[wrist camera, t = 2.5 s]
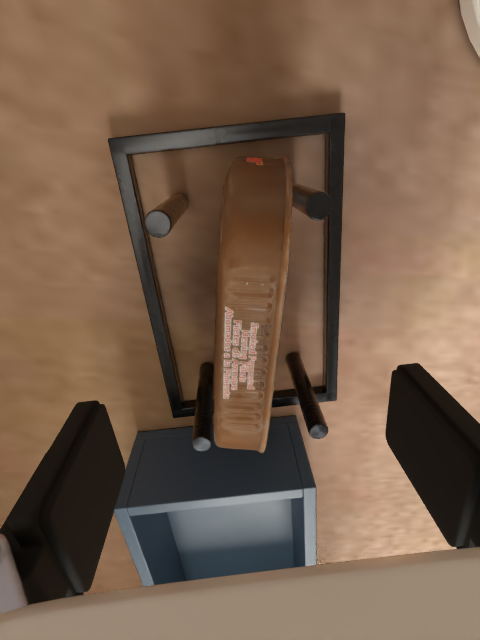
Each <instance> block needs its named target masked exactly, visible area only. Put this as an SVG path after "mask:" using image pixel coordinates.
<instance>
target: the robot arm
mask: <svg viewBox="0 0 480 640" xmlns="http://www.w3.org/2000/svg"><path fill="white" fill-rule="evenodd" d="M459 2H460V10H461V15H462V18H463V21H464V24H465V27H466V30H467V34H468V37H469V40H470V42H471V43H472V45H473V47H474V49H475V50H476V52H477V54H478V55H479V57H480V0H459ZM386 440H387V443H388V445H389V447H390V448H391V450H392V452H393V453H394V455H395V457H396V458H397V460H398V462H399V463H400V465H401V467H402V468H403V470H404V471H405V473H406V475H407V476H408V478H409V480H410V481H411V483H412V485H413V486H414V488H415V490H416V491H417V493H418V495H419V496H420V498H421V500H422V501H423V503H424V504H425V506H426V508H427V509H428V511H429V513H430V514H431V516H432V518H433V519H434V521H435V523H436V524H437V526H438V528H439V529H440V531H441V533H442V534H443V536H444V537H445V539H446V541H447V542H448V544H449V545H450V546H452V547H456V548H457V549H453V550H443V551H433V552H423V553H414V554H406V555H397V556H388V557H380V558H371V559H363V560H354V561H345V562H337V563H328V564H320V565H312V566H304V567H295V568H287V569H279V570H271V571H263V572H254V573H246V574H238V575H230V576H222V577H214V578H206V579H198V580H191V581H183V582H175V583H167V584H159V585H152V586H144V587H136V588H128V589H121V590H114V591H107V592H101V593H94V594H87V595H83V593H84V592H87V591H88V590H89V589H90V587H91V585H92V582H93V579H94V575H95V572H96V569H97V565H98V562H99V559H100V555H101V552H102V549H103V546H104V542H105V539H106V536H107V532H108V529H109V526H110V522H111V519H112V516H113V513H114V509H115V506H116V503H117V499H118V496H119V493H120V489H121V486H122V483H123V479H124V476H125V464H124V461H123V458H122V455H121V452H120V449H119V446H118V443H117V440H116V437H115V434H114V431H113V428H112V425H111V422H110V419H109V416H108V413H107V410H106V407H105V405H104V404H100V403H99V402H98V401H96V400H95V401H86V402H79V403H77V404H76V405H75V407H74V409H73V410H72V412H71V414H70V415H69V417H68V419H67V420H66V422H65V424H64V425H63V427H62V429H61V431H60V432H59V434H58V436H57V437H56V439H55V441H54V442H53V444H52V446H51V447H50V449H49V450H48V451H47V453H46V454H45V456H44V457H43V459H42V461H41V462H40V464H39V466H38V467H37V469H36V471H35V472H34V474H33V476H32V477H31V479H30V481H29V482H28V484H27V486H26V487H25V489H24V491H23V492H22V494H21V496H20V497H19V499H18V501H17V502H16V504H15V506H14V507H13V509H12V511H11V512H10V514H9V516H8V517H7V519H6V521H5V522H4V524H3V526H2V527H1V529H0V640H480V424H479V423H478V422H477V421H476V420H475V419H474V418H473V417H472V416H471V415H470V414H469V413H468V412H467V411H466V410H465V409H464V408H463V407H462V406H461V405H460V404H459V403H458V402H457V401H456V400H455V399H454V398H453V397H452V396H451V395H450V394H449V393H448V392H447V391H446V390H445V389H444V388H443V387H442V386H441V385H440V384H439V383H438V382H437V381H436V380H435V379H434V378H433V377H432V376H431V375H430V374H429V373H428V372H427V371H426V370H425V369H424V368H423V367H422V366H421V365H420V364H418V363H413V364H404V365H399V366H398V367H397V370H394V371H393V372H392V377H391V386H390V396H389V405H388V415H387V424H386Z"/></svg>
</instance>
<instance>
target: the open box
mask: <svg viewBox="0 0 480 640" xmlns="http://www.w3.org/2000/svg"><path fill="white" fill-rule="evenodd" d="M193 427H194V426H193ZM193 427H184V428H175V429H165V430H156V431H147V432H138V433H137V436H136V439H135V441H134V445H133V448H132V451H131V454H130V457H129V461H128V464H127V467H126V470H125V476H124V479H123V483H122V486H121V489H120V493H119V496H118V499H117V503H116V506H115V509H114V513H115V515H116V518H117V520H118V523H119V525H120V528H121V531H122V533H123V536H124V538H125V541H126V543H127V546H128V548H129V551H130V553H131V556H132V559H133V561H134V564H135V566H136V569H137V571H138V574H139V576H140V579H141V582H142V584H143V587H144V586H152V585H159V584H167V583H175V582H183V581H191V580H198V579H206V578H214V577H222V576H230V575H238V574H246V573H254V572H263V571H271V570H279V569H287V568H295V567H304V566H312V565H316V485H315V481H314V478H313V474H312V471H311V467H310V464H309V460H308V457H307V453H306V450H305V446H304V442H303V439H302V435H301V432H300V428H299V425H298V422H297V418H296V416H295V415H294V416H285V417H276V418H270V424H269V430H268V437H267V442H266V447H265V450H264V452H263V453H261V452H258V451H257V450H245V449H230V448H222V447H219V446H217V445H216V444H215V441H214V430H213V424H212V441H211V447H210V448H209V449H208V450H206V451H197V450H195V449H194V448H193V447H192V436H193Z"/></svg>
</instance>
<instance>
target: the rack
mask: <svg viewBox="0 0 480 640" xmlns="http://www.w3.org/2000/svg"><path fill="white" fill-rule="evenodd" d="M317 134H326V135H325V193H324V192H321V191H317V190H314V189H311V188H308V187H305V186H302V185H299V184H296V183H293V182H292V206H293V207H295V208H296V209H298V210H299V211H301V212H302V213H304V214H305V215H307V216H308V217H310V218H311V219H313V220H322V219H324V218H325V248H324V362H323V387H315V388H312V386H311V383H310V381H309V378H308V376H307V373H306V371H305V368H304V366H303V363H302V360H301V358H300V356H299V355H298V354H296V353H291V354H289V355H288V356H287V358H286V362H287V365H288V368H289V372H290V375H291V378H292V381H293V384H294V387H295V390H287V391H278V392H273V397H272V407H280V406H289V405H298V404H300V407H301V410H302V413H303V416H304V419H305V422H306V426H307V429H308V432H309V435H310V436H311V437H312V438H315V439H320V438H323V437H325V436H326V435H327V433H328V427H327V424H326V422H325V419H324V417H323V414H322V412H321V409H320V406H319V404H318V402H326V401H335V400H337V367H338V334H339V301H340V267H341V234H342V201H343V167H344V134H345V113H337V114H328V115H318V116H309V117H300V118H291V119H282V120H273V121H264V122H254V123H245V124H236V125H227V126H218V127H209V128H200V129H190V130H181V131H172V132H163V133H154V134H145V135H136V136H126V137H117V138H109V139H108V143H109V147H110V151H111V155H112V160H113V164H114V168H115V172H116V177H117V181H118V185H119V189H120V194H121V198H122V202H123V206H124V211H125V215H126V219H127V223H128V228H129V232H130V236H131V240H132V245H133V249H134V253H135V257H136V261H137V266H138V270H139V274H140V278H141V283H142V287H143V291H144V295H145V300H146V304H147V308H148V312H149V317H150V321H151V325H152V329H153V334H154V338H155V342H156V346H157V351H158V355H159V359H160V363H161V368H162V372H163V376H164V380H165V385H166V389H167V393H168V397H169V402H170V406H171V410H172V414H173V418H179V417H188V416H195V418H194V427H193V436H192V447H193V448H194V449H195V450H197V451H206V450H208V449H209V448H210V447H211V441H212V417H213V414H214V399H213V392H214V366H213V365H212V364H211V363H203V364H202V365H201V366H200V372H199V382H198V391H197V400H195V401H186V402H183V398H182V393H181V388H180V384H179V379H178V374H177V370H176V365H175V360H174V356H173V351H172V346H171V342H170V337H169V332H168V328H167V323H166V318H165V313H164V309H163V304H162V299H161V295H160V290H159V285H158V281H157V276H156V271H155V267H154V262H153V257H152V253H151V248H150V243H149V239H148V234H147V232H148V233H149V234H150V235H152V236H154V237H158V238H161V237H164V236H166V235H168V234H169V232H170V231H171V230H172V228H173V227H174V225H175V224H176V223H177V221H178V220H179V219H180V217H181V216H182V215H183V213H184V212H185V211H186V209H187V208H188V204H189V202H188V199H187V197H186V196H185V195H184V194H181V193H176V194H174V195H173V196H171V197H170V198H169V199H167V200H166V201H164V202H163V203H162V204H160V205H159V206H157V207H156V208H155V209H153V210H152V211H150V212H149V213H148V214H147V215H146V217H145V220H144V215H143V211H142V206H141V201H140V196H139V192H138V187H137V182H136V178H135V173H134V168H133V164H132V159H131V155H134V154H144V153H153V152H162V151H171V150H180V149H189V148H198V147H208V146H217V145H226V144H235V143H244V142H253V141H262V140H272V139H281V138H290V137H299V136H308V135H317Z"/></svg>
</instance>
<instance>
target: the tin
mask: <svg viewBox="0 0 480 640" xmlns="http://www.w3.org/2000/svg"><path fill="white" fill-rule="evenodd" d="M291 218H292V171H291V165H290V161H289V158H288V157H282V158H281V159H267V158H253V157H238V158H236V159H234V161H233V163H232V165H231V166H230V168H229V169H228V171H227V174H226V177H225V181H224V187H223V195H222V205H221V215H220V231H219V248H218V267H217V292H216V319H215V349H214V415H213V430H214V441H215V444H216V445H217V446H219V447H222V448H230V449H245V450H257V451H258V452H261V453H263V452H264V450H265V447H266V442H267V437H268V430H269V424H270V415H271V407H272V397H273V390H274V381H275V373H276V364H277V356H278V348H279V339H280V330H281V324H282V314H283V306H284V298H285V291H286V282H287V274H288V265H289V252H290V237H291V224H292V223H291Z"/></svg>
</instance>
